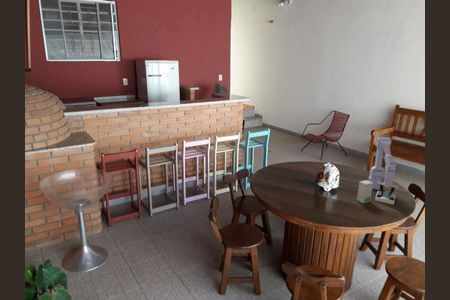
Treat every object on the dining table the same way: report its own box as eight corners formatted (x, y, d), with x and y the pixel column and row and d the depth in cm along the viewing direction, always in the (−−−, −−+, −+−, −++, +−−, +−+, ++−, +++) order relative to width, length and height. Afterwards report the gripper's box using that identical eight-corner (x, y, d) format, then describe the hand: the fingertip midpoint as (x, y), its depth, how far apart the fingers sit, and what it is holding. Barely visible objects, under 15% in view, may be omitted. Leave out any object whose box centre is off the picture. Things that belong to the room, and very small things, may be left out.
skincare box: (363, 203, 235) (366, 184, 230) (355, 200, 240) (358, 181, 235) (370, 201, 238) (373, 182, 234) (363, 197, 244) (366, 179, 239)
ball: (381, 197, 241) (382, 191, 240) (382, 195, 245) (383, 189, 243) (388, 199, 238) (389, 193, 237) (389, 196, 242) (390, 190, 241)
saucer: (379, 199, 241) (379, 199, 241) (380, 196, 247) (380, 195, 246) (389, 202, 237) (389, 201, 237) (390, 198, 243) (390, 198, 243)
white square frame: (374, 200, 240) (375, 196, 239) (377, 194, 251) (377, 190, 250) (393, 204, 234) (394, 201, 233) (395, 198, 244) (395, 194, 243)
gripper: (377, 178, 237) (374, 194, 241) (399, 182, 230) (395, 199, 234) (378, 175, 243) (376, 191, 247) (399, 179, 236) (396, 196, 240)
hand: (385, 195), depth 241 cm, fingers closed on ball, 5 cm apart
